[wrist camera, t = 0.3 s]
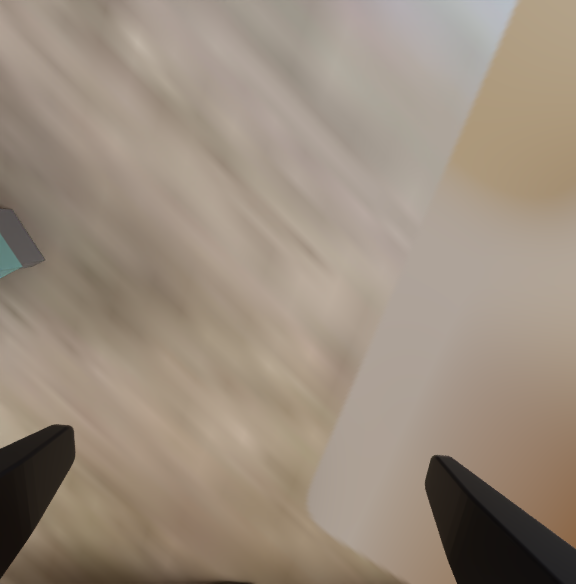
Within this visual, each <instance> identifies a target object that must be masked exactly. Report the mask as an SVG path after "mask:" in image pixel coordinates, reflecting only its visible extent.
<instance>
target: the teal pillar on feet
mask: <svg viewBox="0 0 576 584" xmlns="http://www.w3.org/2000/svg"><path fill="white" fill-rule="evenodd" d="M44 260H45V259H44V257H43V256H42V254H41V253H40V251H39V250H38V248H37V247H36V245H35V243H34V242H33V240H32V239H31V237H30V236H29V234H28V233H27V231H26V230H25V228H24V227H23V225H22V224H21V222H20V221H19V219H18V218H17V216H16V215H15V213H14V211H13V210H12V209H0V278H2V277H4V276H6V275H7V274H9V273H11V272H13V271H15V270H17V269H21V268H26V267H32V266H34V265H36V264H38V263H40V262H42V261H44Z"/></svg>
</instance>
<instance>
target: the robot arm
mask: <svg viewBox="0 0 576 584" xmlns="http://www.w3.org/2000/svg"><path fill="white" fill-rule="evenodd" d="M74 459H75V440H74V429H73V428H72V426H69V425H59V424H55V425H51V426H49V427H47V428H44V429H42V430H40V431H38V432H36V433H34V434H31V435H29V436H27V437H25V438H23V439H21V440H18V441H16V442H14V443H12V444H10V445H8V446H5V447H3V448H1V449H0V579H1V577H2V576H3V574H4V573H5V572H6V570H7V569H8V567H9V566H10V564H11V563H12V562H13V560H14V559H15V557H16V556H17V554H18V553H19V551H20V550H21V549H22V547H23V546H24V544H25V543H26V541H27V540H28V538H29V537H30V535H31V534H32V532H33V531H34V529H35V527H36V526H37V524H38V523H39V521H40V519H41V518H42V516H43V514H44V512H45V511H46V509H47V507H48V505H49V504H50V502H51V500H52V499H53V497H54V495H55V493H56V492H57V490H58V488H59V487H60V485H61V483H62V481H63V480H64V478H65V476H66V475H67V473H68V471H69V469H70V468H71V466H72V464H73V462H74ZM425 489H426V492H427V496H428V500H429V503H430V506H431V509H432V512H433V515H434V519H435V522H436V525H437V528H438V531H439V534H440V538H441V541H442V544H443V547H444V550H445V553H446V556H447V559H448V562H449V564H450V567H451V570H452V572H453V575H454V577H455V579H456V582H457V584H576V549H575V548H574V547H572V546H571V545H570V544H568V543H567V542H566V541H564V540H563V539H561V538H560V537H559V536H557V535H556V534H555V533H553V532H552V531H551V530H549V529H548V528H547V527H545V526H544V525H542V524H541V523H540V522H538V521H537V520H536V519H534V518H533V517H532V516H530V515H529V514H527V513H526V512H525V511H524V510H522V509H521V508H519V507H518V506H517V505H515V504H514V503H513V502H511V501H510V500H509V499H507V498H506V497H505V496H503V495H502V494H500V493H499V492H498V491H496V490H495V489H494V488H492V487H491V486H490V485H488V484H487V483H486V482H484V481H483V480H481V479H480V478H479V477H477V476H476V475H475V474H473V473H472V472H471V471H469V470H468V469H467V468H465V467H464V466H463V465H461V464H460V463H458V462H457V461H456V460H454V459H453V458H452V457H449V456H444V455H434V456H432V458H431V460H430V464H429V468H428V472H427V475H426V480H425Z"/></svg>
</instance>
